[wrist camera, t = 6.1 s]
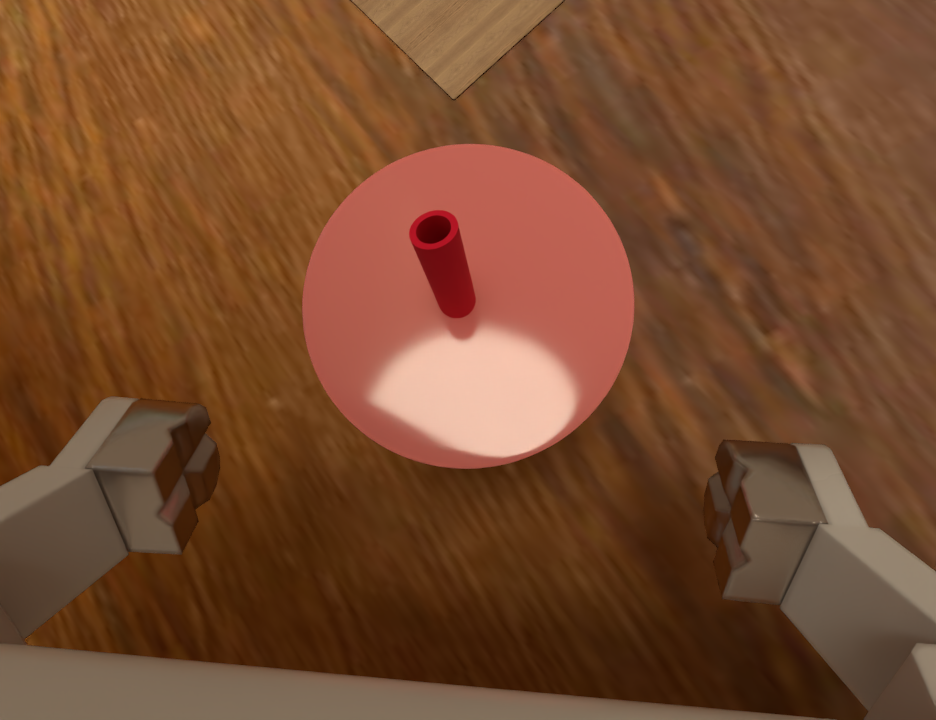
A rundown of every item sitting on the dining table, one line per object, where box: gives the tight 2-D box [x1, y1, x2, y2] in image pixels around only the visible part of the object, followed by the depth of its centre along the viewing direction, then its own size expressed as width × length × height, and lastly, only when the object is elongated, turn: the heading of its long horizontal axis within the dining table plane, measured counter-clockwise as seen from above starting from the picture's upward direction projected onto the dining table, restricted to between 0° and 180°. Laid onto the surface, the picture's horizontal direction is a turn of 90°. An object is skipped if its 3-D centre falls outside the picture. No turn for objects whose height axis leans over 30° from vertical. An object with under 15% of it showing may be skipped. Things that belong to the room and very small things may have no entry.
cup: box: [302, 144, 634, 469], centre depth 14 cm, size 5×5×12 cm
